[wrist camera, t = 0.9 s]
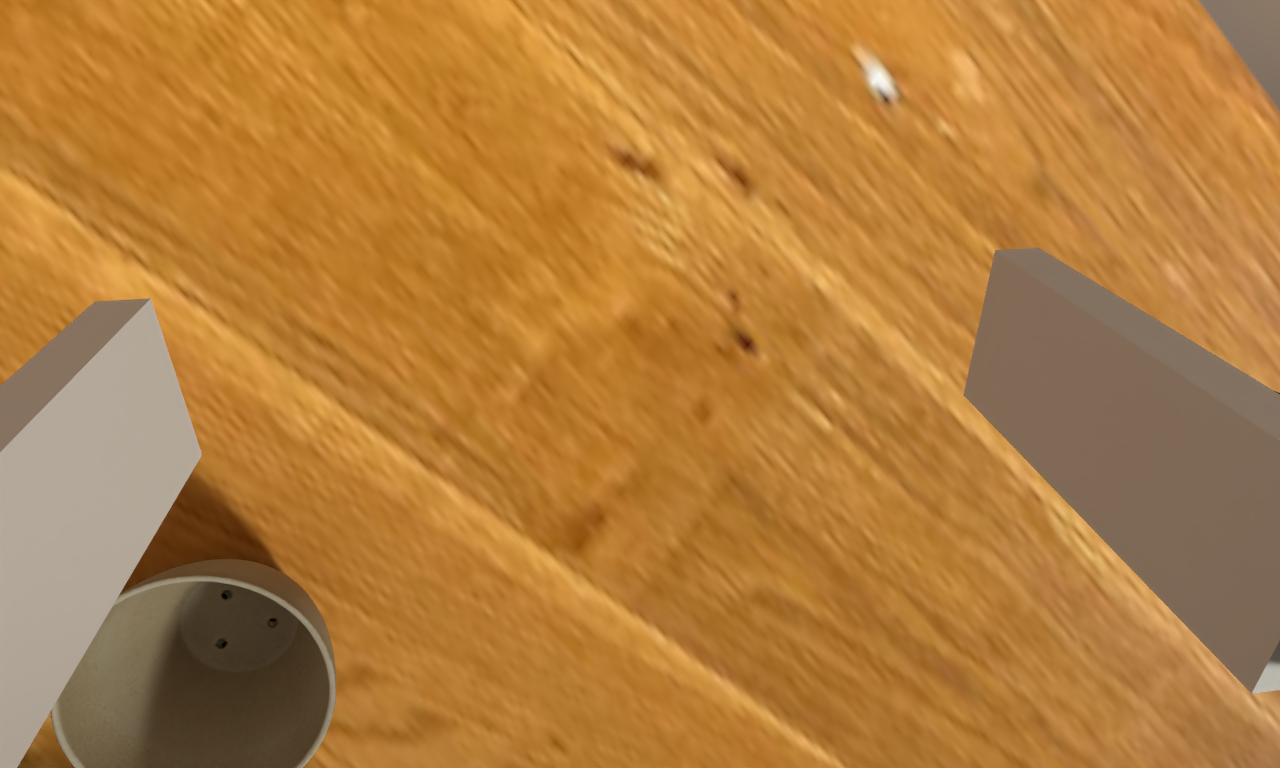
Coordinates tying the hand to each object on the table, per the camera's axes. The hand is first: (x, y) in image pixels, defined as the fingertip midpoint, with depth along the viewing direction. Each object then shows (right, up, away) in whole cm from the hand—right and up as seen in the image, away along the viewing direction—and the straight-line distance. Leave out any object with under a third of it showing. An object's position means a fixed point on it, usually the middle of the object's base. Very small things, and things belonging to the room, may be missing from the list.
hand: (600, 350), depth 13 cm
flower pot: (-18, -11, +25) cm, 33 cm away
